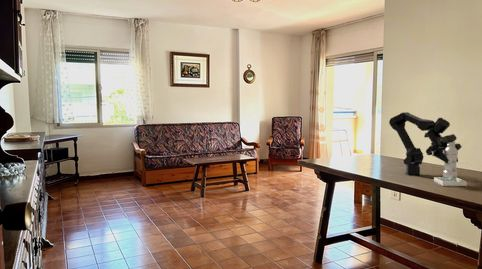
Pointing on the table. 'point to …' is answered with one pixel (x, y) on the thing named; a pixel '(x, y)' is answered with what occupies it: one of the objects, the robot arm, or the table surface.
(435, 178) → the tray
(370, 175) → the table surface
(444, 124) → the robot arm
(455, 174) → the plastic bottle
